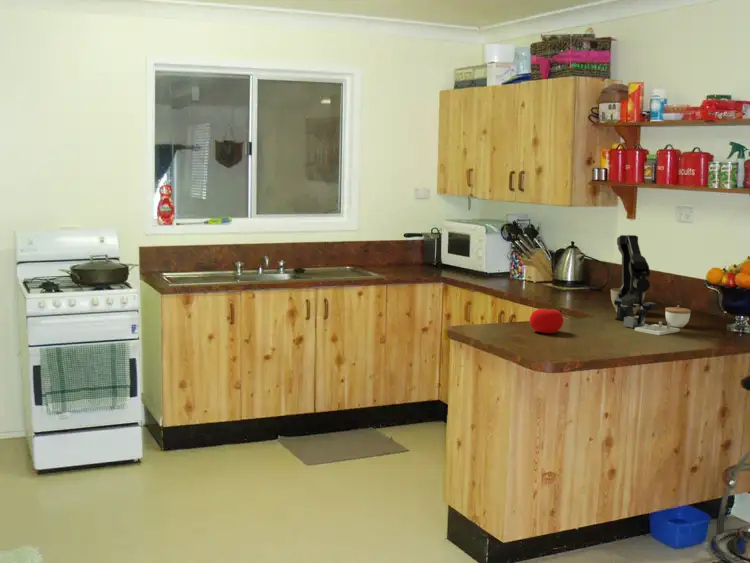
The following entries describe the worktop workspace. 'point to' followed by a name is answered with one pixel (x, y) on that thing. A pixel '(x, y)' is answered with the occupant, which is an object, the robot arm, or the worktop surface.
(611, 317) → the worktop surface
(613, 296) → the planter bowl
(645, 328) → the white peg board
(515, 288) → the worktop surface
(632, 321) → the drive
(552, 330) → the tomato
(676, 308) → the lidded jar
